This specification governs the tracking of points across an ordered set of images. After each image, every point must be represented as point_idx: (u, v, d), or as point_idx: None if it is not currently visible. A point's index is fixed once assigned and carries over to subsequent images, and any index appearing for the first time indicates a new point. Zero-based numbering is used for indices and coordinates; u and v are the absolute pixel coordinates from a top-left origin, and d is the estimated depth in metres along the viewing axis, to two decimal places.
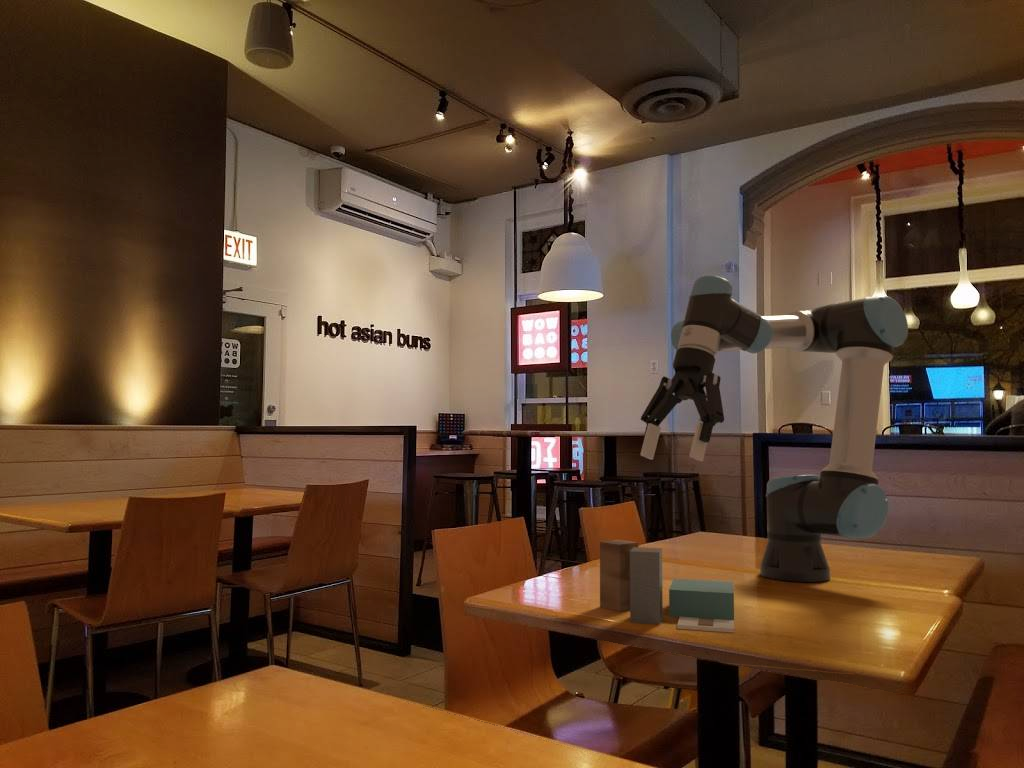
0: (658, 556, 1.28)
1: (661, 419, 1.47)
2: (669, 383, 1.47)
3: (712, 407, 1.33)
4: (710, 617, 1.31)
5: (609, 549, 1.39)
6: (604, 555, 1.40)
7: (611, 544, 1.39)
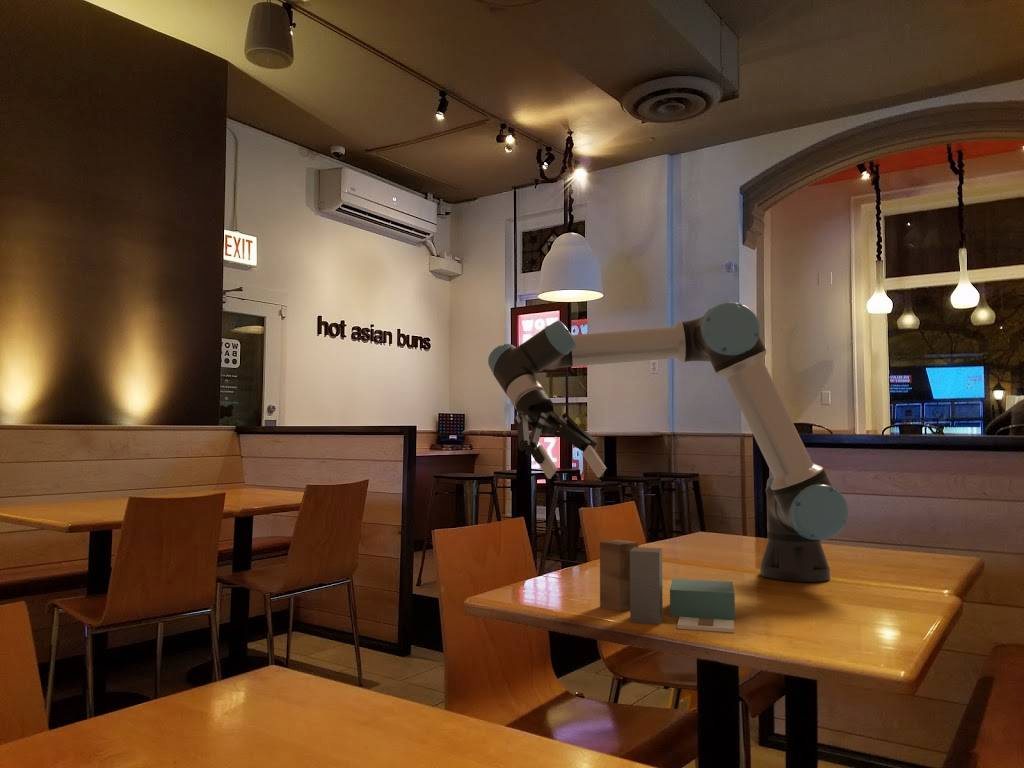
0: (658, 556, 1.28)
1: (582, 441, 1.58)
2: None
3: (519, 443, 1.50)
4: (711, 617, 1.31)
5: (609, 549, 1.39)
6: (604, 555, 1.40)
7: (611, 544, 1.39)
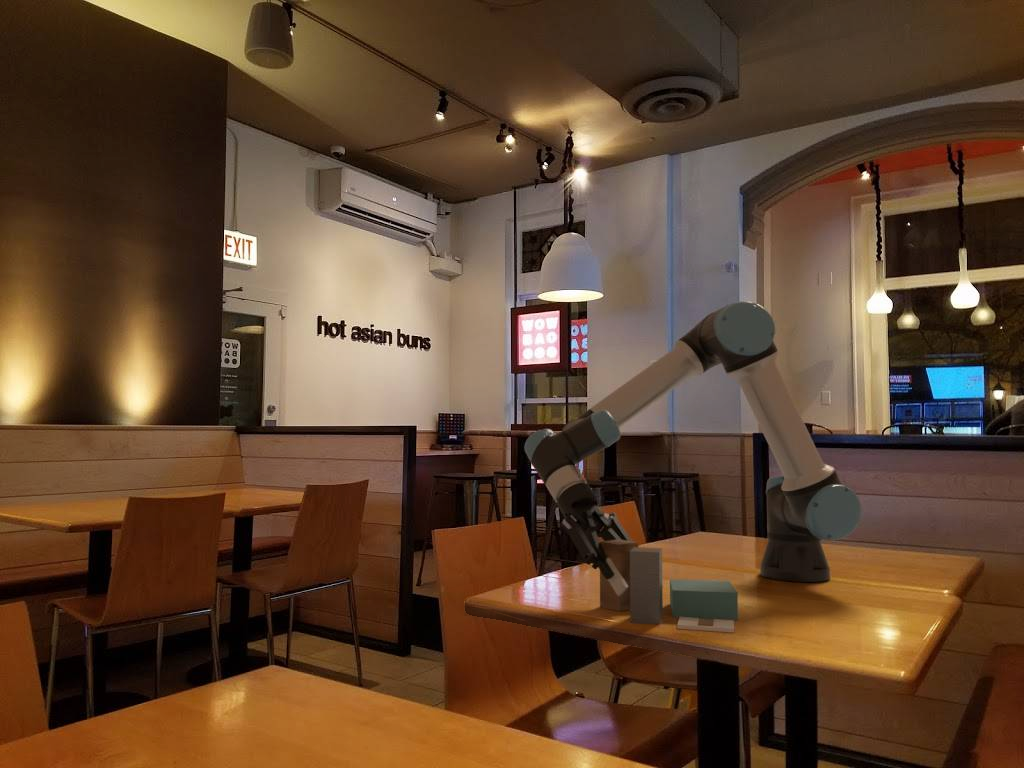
0: (658, 556, 1.28)
1: None
2: None
3: (582, 555, 1.40)
4: (714, 617, 1.31)
5: (609, 549, 1.39)
6: None
7: (611, 544, 1.39)
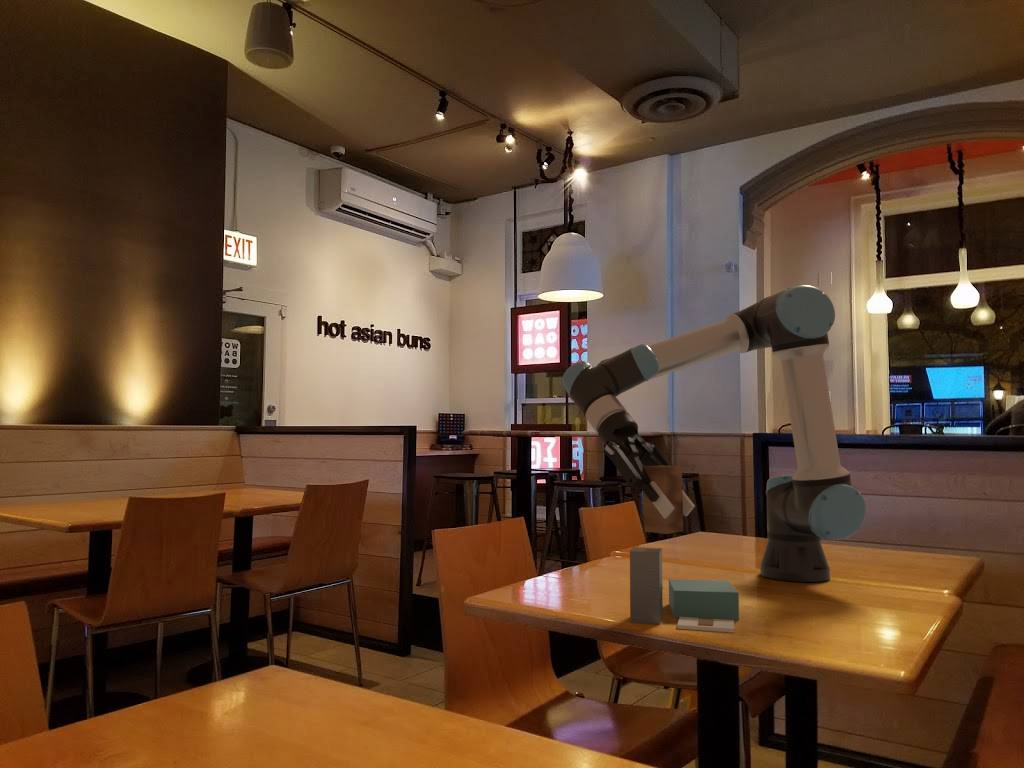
0: (658, 556, 1.28)
1: None
2: None
3: (626, 479, 1.39)
4: (715, 617, 1.31)
5: (653, 472, 1.38)
6: None
7: (655, 467, 1.38)
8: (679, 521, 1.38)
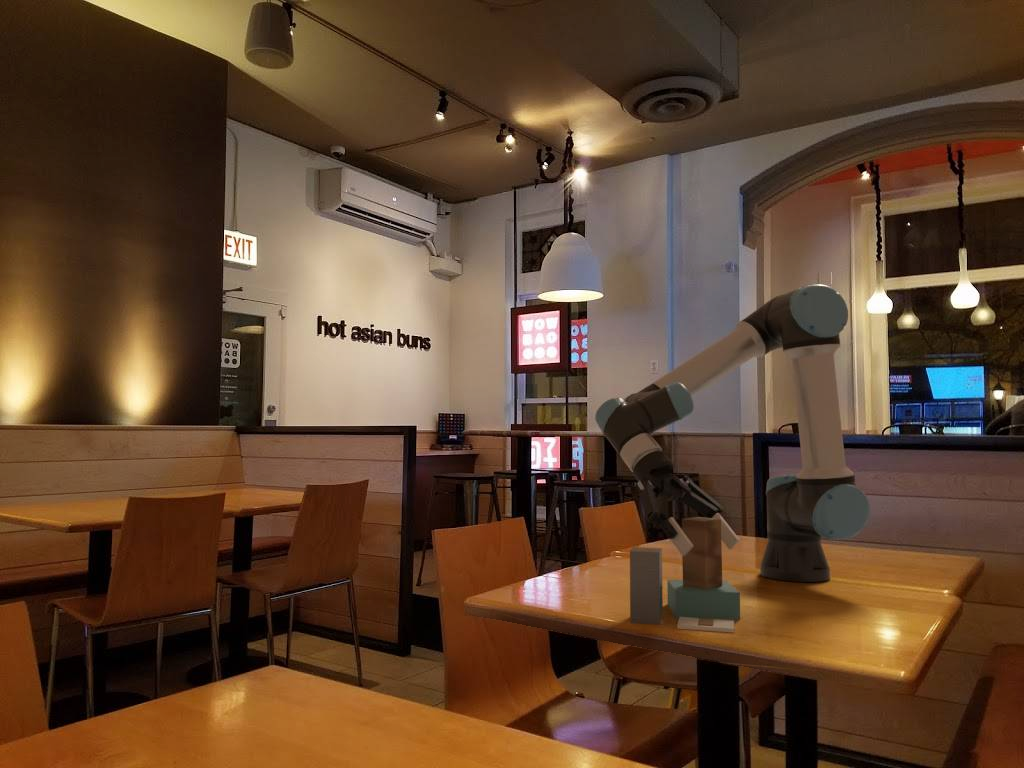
0: (658, 556, 1.28)
1: (708, 508, 1.44)
2: None
3: (646, 515, 1.36)
4: (717, 617, 1.31)
5: (692, 526, 1.36)
6: (687, 532, 1.37)
7: (695, 521, 1.36)
8: (718, 575, 1.36)
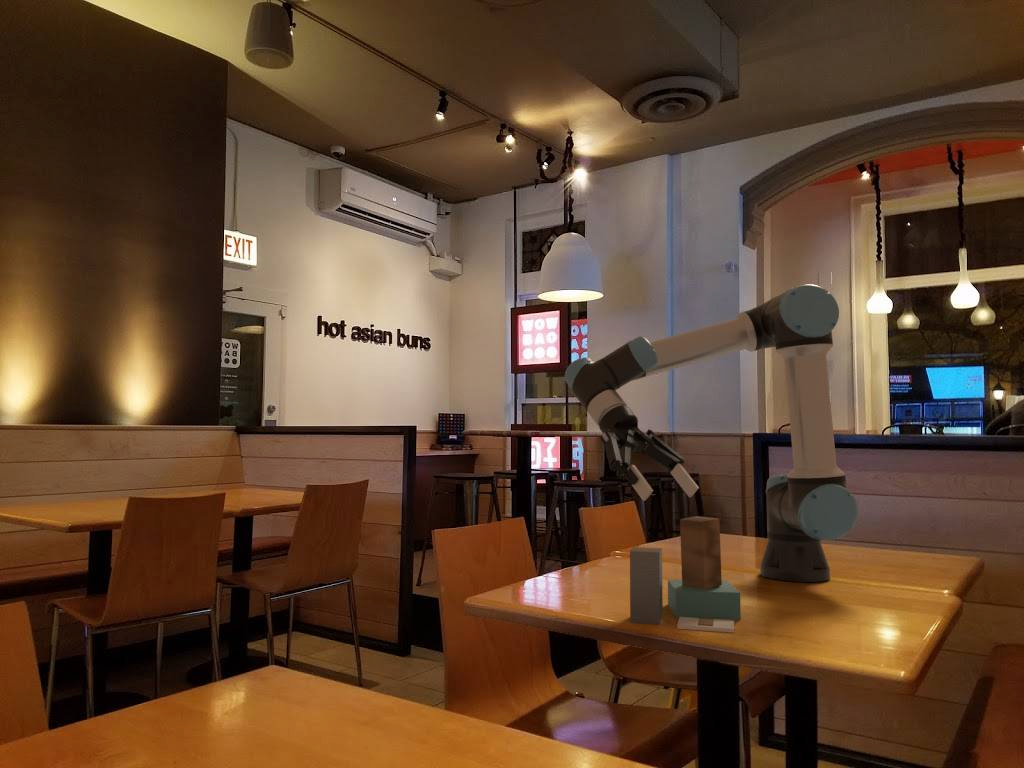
0: (658, 556, 1.28)
1: (670, 459, 1.52)
2: None
3: (609, 463, 1.44)
4: (717, 617, 1.31)
5: (691, 526, 1.36)
6: (685, 533, 1.37)
7: (693, 521, 1.35)
8: (717, 575, 1.36)
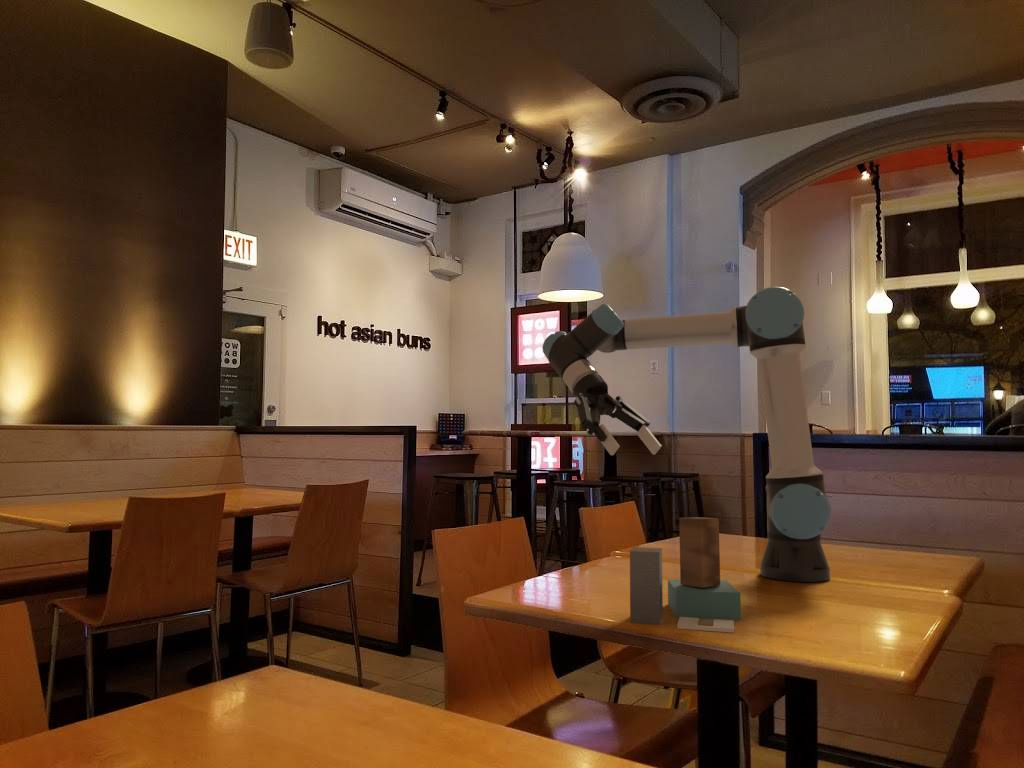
0: (658, 556, 1.28)
1: (637, 422, 1.68)
2: None
3: (581, 423, 1.60)
4: (717, 617, 1.31)
5: (689, 524, 1.37)
6: (684, 531, 1.38)
7: (692, 519, 1.36)
8: (716, 575, 1.36)
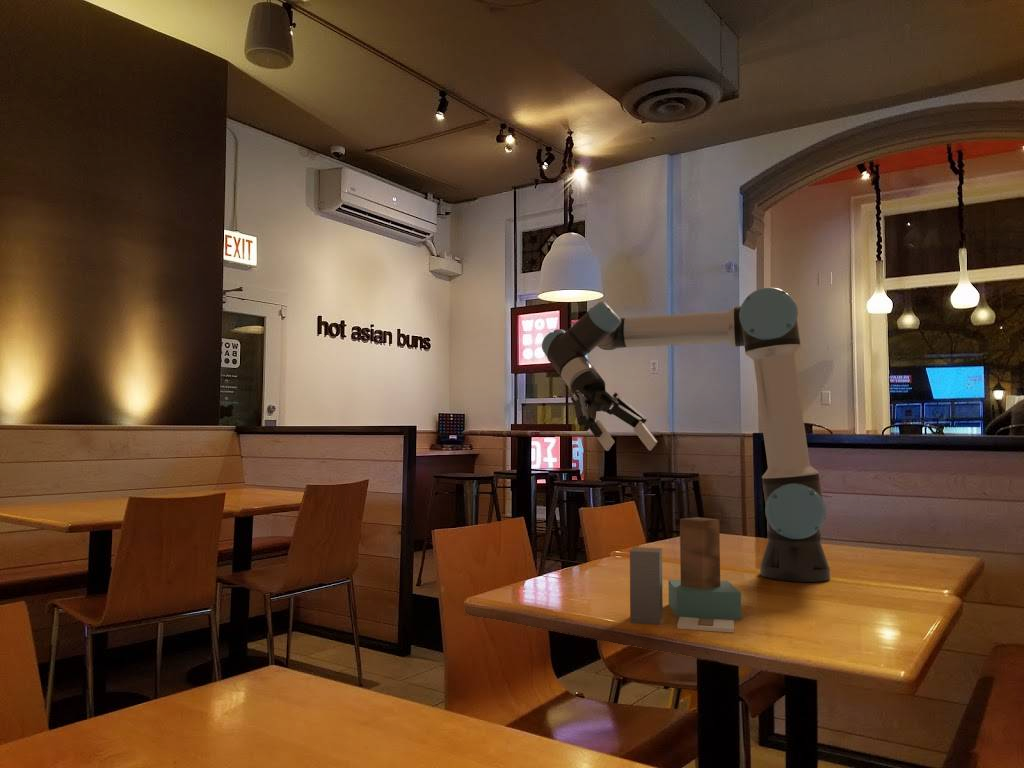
0: (658, 556, 1.28)
1: (633, 418, 1.71)
2: None
3: (577, 419, 1.63)
4: (718, 617, 1.31)
5: (690, 526, 1.36)
6: (685, 532, 1.37)
7: (692, 521, 1.36)
8: (716, 576, 1.36)
